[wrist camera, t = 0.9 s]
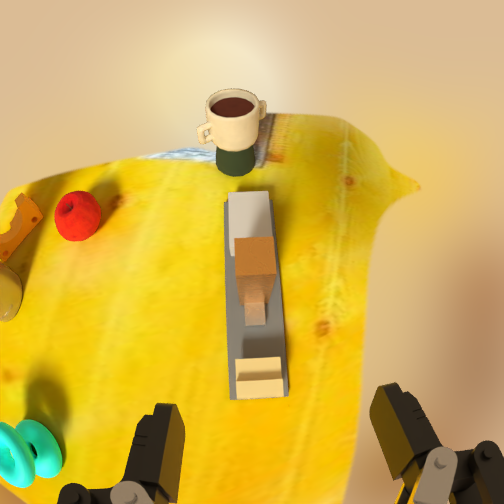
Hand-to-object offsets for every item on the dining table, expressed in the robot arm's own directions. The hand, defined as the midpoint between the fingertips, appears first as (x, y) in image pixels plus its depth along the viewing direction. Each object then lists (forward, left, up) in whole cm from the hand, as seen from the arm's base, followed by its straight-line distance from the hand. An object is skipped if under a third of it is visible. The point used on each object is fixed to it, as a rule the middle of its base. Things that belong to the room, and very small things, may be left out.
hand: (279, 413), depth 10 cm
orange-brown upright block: (-12, +10, -24) cm, 28 cm away
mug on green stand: (-26, +20, -25) cm, 42 cm away
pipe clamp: (-46, -18, -26) cm, 56 cm away
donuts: (-11, -35, -25) cm, 45 cm away
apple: (-34, -5, -25) cm, 43 cm away
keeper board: (-9, +7, -25) cm, 28 cm away
